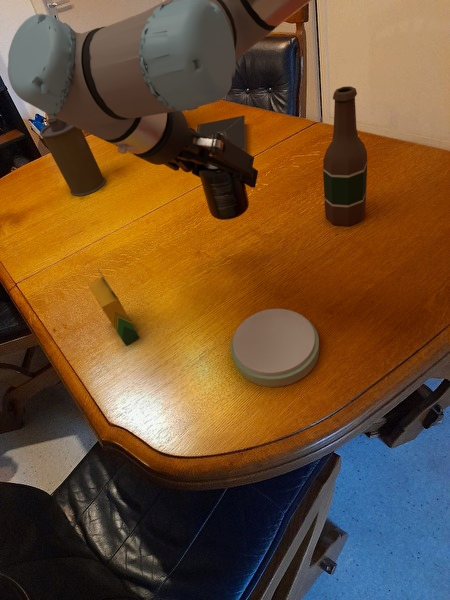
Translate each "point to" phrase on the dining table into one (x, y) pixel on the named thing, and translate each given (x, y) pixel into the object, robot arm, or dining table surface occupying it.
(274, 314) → the scale
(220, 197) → the supplement bottle
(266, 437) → the dining table surface
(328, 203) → the beer bottle
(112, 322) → the crayon box
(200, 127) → the book
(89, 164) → the canister
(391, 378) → the dining table surface
